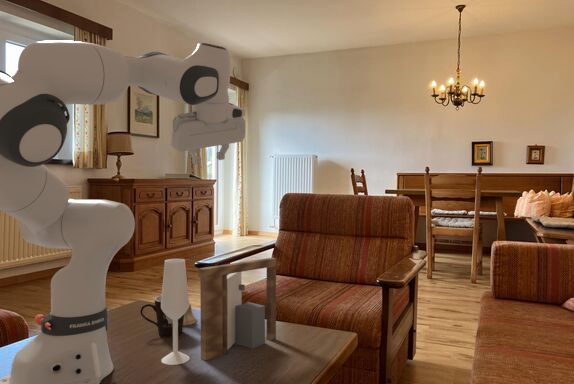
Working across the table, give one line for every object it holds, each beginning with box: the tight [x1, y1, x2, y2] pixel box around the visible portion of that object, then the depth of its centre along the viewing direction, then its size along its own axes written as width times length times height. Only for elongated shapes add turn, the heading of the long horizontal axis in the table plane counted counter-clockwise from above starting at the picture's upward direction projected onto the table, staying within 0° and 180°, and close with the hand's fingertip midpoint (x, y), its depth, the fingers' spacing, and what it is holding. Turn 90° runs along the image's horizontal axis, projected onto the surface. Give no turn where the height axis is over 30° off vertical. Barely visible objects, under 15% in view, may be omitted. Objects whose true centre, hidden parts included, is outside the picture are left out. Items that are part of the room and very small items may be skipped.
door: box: [227, 272, 246, 351], centre depth 123 cm, size 12×3×18 cm, turn 168°
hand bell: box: [183, 273, 198, 327], centre depth 141 cm, size 8×8×16 cm
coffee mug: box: [139, 295, 184, 338], centre depth 131 cm, size 12×9×10 cm
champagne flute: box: [160, 258, 190, 366], centre depth 112 cm, size 7×7×24 cm
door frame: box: [197, 257, 277, 361], centre depth 119 cm, size 23×2×22 cm, turn 132°
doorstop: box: [234, 301, 266, 349], centre depth 123 cm, size 5×6×10 cm
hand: (208, 161), depth 123 cm, fingers open, 6 cm apart
